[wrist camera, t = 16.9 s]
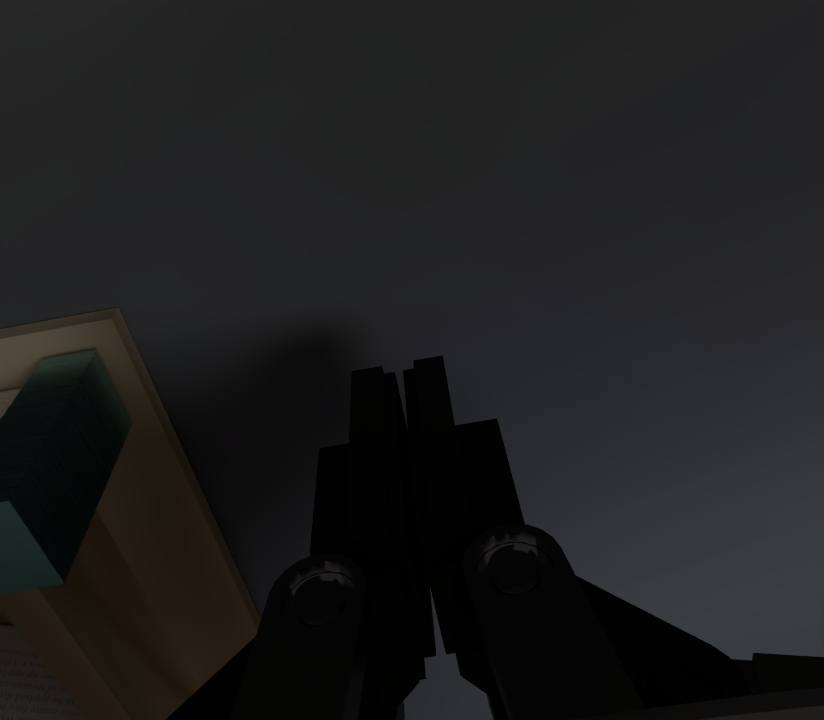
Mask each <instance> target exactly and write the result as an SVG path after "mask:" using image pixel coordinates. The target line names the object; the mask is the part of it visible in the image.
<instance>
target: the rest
mask: <svg viewBox="0 0 824 720" xmlns="http://www.w3.org/2000/svg"><path fill="white" fill-rule="evenodd" d="M91 350H97V351H98V353H99V355H100V357H101V359H102V361H103V363H104V365H105V367H106V369H107V371H108V373H109V375H110V377H111V379H112V381H113V383H114V385H115V387H116V389H117V391H118V393H119V395H120V397H121V400H122V402H123V404H124V406H125V408H126V410H127V412H128V414H129V416H130V418H131V420H132V422H133V424H132V426H131V429H130V431H129V433H128V436H127V438H126V440H125V443H124V445H123V447H122V450H121V452H120V454H119V457H118V459H117V461H116V464H115V466H114V468H113V471H112V473H111V475H110V478H109V480H108V482H107V485H106V487H105V489H104V492H103V494H102V497H101V499H100V501H99V504H98V506H97V508H96V511H95V513H94V515H93V518H92V520H91V522H90V525H89V527H88V529H87V532H86V534H85V536H84V539H83V541H82V543H81V546H80V548H79V550H78V553H77V555H76V557H75V560H74V562H73V564H72V567H71V569H70V572H69V574H68V576H67V579H66V581H65V583H63V584H58V585H52V586H46V587H40V588H35V589H29V590H23V591H17V592H12V593H6V594H0V625H9V626H15V627H16V628H17V629H18V631H19V632H20V633H21V635H22V636H23V637H24V638H25V640H26V641H27V642H28V644H29V645H30V646H31V648H32V649H33V650H34V651H35V653H36V654H37V655H38V657H39V658H40V659H41V660H42V662H43V663H44V664H45V666H46V667H47V668H48V669H49V671H50V672H51V673H52V675H53V676H54V677H55V679H56V680H57V681H58V682H59V684H60V685H61V686H62V688H63V689H64V690H65V691H66V693H67V694H68V695H69V697H70V698H71V699H72V700H73V702H74V703H75V704H76V706H77V707H78V708H79V710H80V711H81V712H82V713H83V715H84V716H85V717H86V719H87V720H165V719H166V718H168V717H169V716H170V715H171V714H172V713H173V712H174V711H175V710H176V709H177V708H178V707H179V706H181V705H182V704H183V703H184V702H185V701H186V700H187V699H188V698H189V697H190V696H191V695H193V694H194V693H195V692H196V691H197V690H198V689H199V688H200V687H201V686H202V685H203V684H204V683H206V682H207V681H208V680H209V679H210V678H211V677H212V676H213V675H214V674H215V673H216V672H217V671H219V670H220V669H221V668H222V667H223V666H224V665H225V664H226V663H227V662H228V661H229V660H230V659H232V658H233V657H234V656H235V655H236V654H237V653H238V652H239V651H240V650H241V649H242V648H243V647H245V646H246V645H247V644H248V643H249V642H250V641H251V640H252V639H253V638H254V637H255V636H256V634H257V630H258V627H259V624H260V621H261V619H260V617H259V614H258V612H257V610H256V608H255V606H254V603H253V601H252V599H251V597H250V595H249V592H248V590H247V588H246V586H245V584H244V581H243V579H242V577H241V575H240V573H239V571H238V568H237V566H236V564H235V562H234V560H233V557H232V555H231V553H230V551H229V549H228V546H227V544H226V542H225V540H224V538H223V535H222V533H221V531H220V529H219V527H218V525H217V522H216V520H215V518H214V516H213V514H212V511H211V509H210V507H209V505H208V503H207V500H206V498H205V496H204V494H203V492H202V490H201V487H200V485H199V483H198V481H197V479H196V476H195V474H194V472H193V470H192V468H191V465H190V463H189V461H188V459H187V457H186V454H185V452H184V450H183V448H182V446H181V444H180V441H179V439H178V437H177V435H176V433H175V430H174V428H173V426H172V424H171V422H170V419H169V417H168V415H167V413H166V411H165V408H164V406H163V404H162V402H161V400H160V398H159V395H158V393H157V391H156V389H155V387H154V384H153V382H152V380H151V378H150V376H149V373H148V371H147V369H146V367H145V365H144V362H143V360H142V358H141V356H140V354H139V352H138V349H137V347H136V345H135V343H134V341H133V338H132V336H131V334H130V332H129V330H128V327H127V325H126V323H125V321H124V319H123V316H122V314H121V312H120V310H119V308H118V307H117V308H111V309H106V310H101V311H95V312H90V313H84V314H79V315H74V316H68V317H63V318H57V319H52V320H47V321H41V322H36V323H30V324H25V325H20V326H14V327H9V328H3V329H0V392H5V391H10V390H15V389H21V388H22V387H23V386H24V384H25V383H26V382H27V380H28V379H29V377H30V376H31V374H32V373H33V371H34V370H35V369H36V367H37V366H38V364H39V363H40V361H41V360H42V359H48V358H53V357H59V356H64V355H69V354H75V353H80V352H86V351H91Z"/></svg>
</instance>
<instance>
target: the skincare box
mask: <svg viewBox="0 0 824 720" xmlns="http://www.w3.org/2000/svg"><path fill="white" fill-rule="evenodd" d="M0 720H87V719H86V717H85V716H84V715H83V713H82V712H81V711H80V710H79V708H78V707H77V706H76V704H75V703H74V702H73V700H72V699H71V698H70V697H69V695H68V694H67V693H66V691H65V690H64V689H63V688H62V686H61V685H60V684H59V682H58V681H57V680H56V679H55V677H54V676H53V675H52V673H51V672H50V671H49V669H48V668H47V667H46V666H45V664H44V663H43V662H42V660H41V659H40V658H39V657H38V655H37V654H36V653H35V651H34V650H33V649H32V648H31V646H30V645H29V644H28V642H27V641H26V640H25V638H24V637H23V636H22V635H21V633H20V632H19V631H18V629H17V628H16V627H15V626H9V625H0Z"/></svg>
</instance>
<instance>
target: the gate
mask: <svg viewBox="0 0 824 720" xmlns="http://www.w3.org/2000/svg"><path fill="white" fill-rule="evenodd" d="M132 424H133V422H132V420H131V418H130V416H129V414H128V412H127V410H126V408H125V406H124V404H123V402H122V400H121V397H120V395H119V393H118V391H117V389H116V387H115V385H114V383H113V381H112V379H111V377H110V375H109V373H108V371H107V369H106V367H105V365H104V363H103V361H102V359H101V357H100V355H99V353H98V351H97V350H91V351H86V352H80V353H75V354H69V355H64V356H59V357H53V358H48V359H42V360H41V361H40V363H39V364H38V366H37V367H36V369H35V370H34V371H33V373H32V374H31V376H30V377H29V379H28V380H27V382H26V383H25V384H24V386H23V387H22V388H21V389H15V390H10V391H5V392H0V594H6V593H12V592H17V591H23V590H29V589H35V588H40V587H46V586H52V585H58V584H63V583H65V581H66V579H67V576H68V574H69V572H70V569H71V567H72V564H73V562H74V560H75V557H76V555H77V553H78V550H79V548H80V546H81V543H82V541H83V539H84V536H85V534H86V532H87V529H88V527H89V525H90V522H91V520H92V518H93V515H94V513H95V511H96V508H97V506H98V504H99V501H100V499H101V497H102V494H103V492H104V489H105V487H106V485H107V482H108V480H109V478H110V475H111V473H112V471H113V468H114V466H115V464H116V461H117V459H118V457H119V454H120V452H121V450H122V447H123V445H124V443H125V440H126V438H127V436H128V433H129V431H130V429H131V426H132Z"/></svg>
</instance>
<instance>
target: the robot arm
mask: <svg viewBox="0 0 824 720" xmlns="http://www.w3.org/2000/svg"><path fill="white" fill-rule="evenodd" d="M403 375H404V387H405V399H406V412H407V424H408V430H407V426H406V421H405V417H404V412H403V408H402V403H401V398H400V394H399V389H398V385H397V380H396V376H395V373H394V372H391V373H385V374H384V372H383V369H382V367H381V366H380V367H374V368H368V369H362V370H356V371H352V374H351V403H350V433H349V443H348V444H342V445H337V446H331V447H325V448H321V449H320V451H319V457H318V468H317V479H316V491H315V502H314V513H313V524H312V535H311V547H310V557H307V558H305V559H303V560H300V561H298V562H296V563H295V564H293V565H292V566H291V567H289V568H288V569H286V570H285V571H284V572H283V573H282V574H281V576H280V577H279V578H278V579H277V580H276V581H275V583H274V585H273V587H272V589H271V591H270V593H269V595H268V599H267V602H266V605H265V608H264V611H263V614H262V618H261V621H260V624H259V627H258V630H257V634H256V636H255V637H254V638H253V639H252V640H251V641H250V642H249V643H248V644H247V645H246V646H245V647H243V648H242V649H241V650H240V651H239V652H238V653H237V654H236V655H235V656H234V657H233V658H232V659H230V660H229V661H228V662H227V663H226V664H225V665H224V666H223V667H222V668H221V669H220V670H219V671H217V672H216V673H215V674H214V675H213V676H212V677H211V678H210V679H209V680H208V681H207V682H206V683H204V684H203V685H202V686H201V687H200V688H199V689H198V690H197V691H196V692H195V693H194V694H193V695H191V696H190V697H189V698H188V699H187V700H186V701H185V702H184V703H183V704H182V705H181V706H179V707H178V708H177V709H176V710H175V711H174V712H173V713H172V714H171V715H170V716H169V717H168V718H166V719H165V720H405V713H404V703H403V701H404V699H405V698H406V697H407V696H408V695H409V694H410V692H411V691H412V690H413V689H414V688H415V687H416V685H417V684H418V683H419V682H420V681H419V680H422V679H426V675H425V662H424V658H425V657H432V656H436V647H435V637H434V626H433V615H432V605H431V594H430V588H431V592H432V596H433V601H434V605H435V609H436V613H437V618H438V622H439V626H440V631H441V635H442V639H443V643H444V648H445V652H446V654H451V653H456V657H457V662H458V666H459V671H460V675H461V676H462V677H463V678H465V679H466V680H467V681H469V682H470V683H472V684H473V685H475V686H476V687H478V688H479V689H480V690H482V691H483V692H485V693H486V694H487V698H488V703H489V707H490V710H491V713H492V716H493V720H824V657H812V656H796V655H779V654H763V653H753V657H752V661H751V660H736V659H730V658H729V657H728V656H727V655H726V654H724V653H723V652H721V651H720V650H718V649H717V648H715V647H714V646H712V645H710V644H708V643H706V642H704V641H702V640H700V639H698V638H696V637H695V636H693V635H691V634H689V633H687V632H685V631H683V630H681V629H679V628H677V627H675V626H673V625H671V624H669V623H667V622H665V621H663V620H661V619H659V618H657V617H656V616H654V615H652V614H650V613H648V612H646V611H644V610H642V609H640V608H638V607H636V606H634V605H632V604H630V603H628V602H626V601H624V600H622V599H620V598H618V597H616V596H615V595H613V594H611V593H609V592H607V591H605V590H603V589H601V588H599V587H597V586H595V585H593V584H591V583H589V582H587V581H585V580H583V579H581V578H579V577H577V576H576V575H575V573H574V571H573V569H572V567H571V565H570V564H569V562H568V560H567V558H566V556H565V554H564V552H563V550H562V548H561V547H560V545H559V544H558V543H557V542H556V540H555V539H554V538H553V537H552V536H551V535H549V534H548V533H546V532H545V531H543V530H542V529H539V528H536V527H533V526H530V525H526V524H525V523H524V520H523V516H522V512H521V508H520V504H519V500H518V497H517V493H516V489H515V485H514V481H513V478H512V474H511V470H510V466H509V462H508V458H507V455H506V451H505V447H504V443H503V439H502V435H501V432H500V428H499V424H498V421H497V419H491V420H485V421H479V422H473V423H468V424H462V425H456V426H455V424H454V418H453V412H452V407H451V401H450V395H449V389H448V384H447V378H446V372H445V366H444V361H443V356H438V357H432V358H426V359H420V360H414V369H409V370H403ZM429 583H430V584H429Z"/></svg>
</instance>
